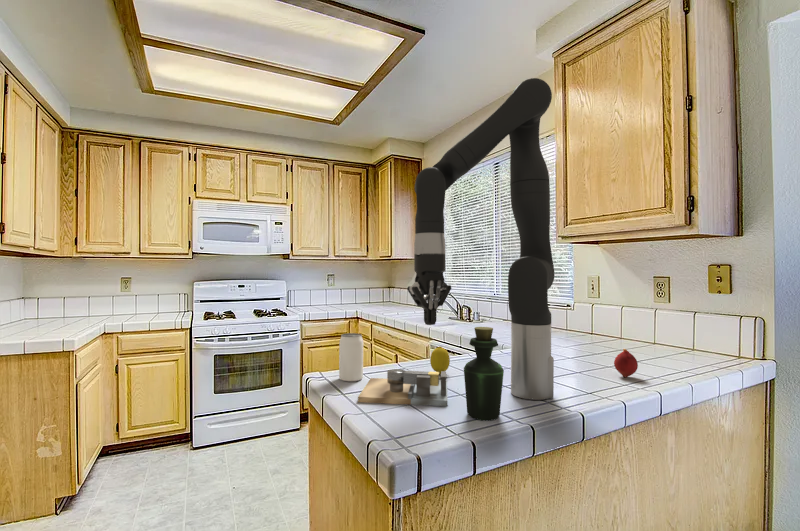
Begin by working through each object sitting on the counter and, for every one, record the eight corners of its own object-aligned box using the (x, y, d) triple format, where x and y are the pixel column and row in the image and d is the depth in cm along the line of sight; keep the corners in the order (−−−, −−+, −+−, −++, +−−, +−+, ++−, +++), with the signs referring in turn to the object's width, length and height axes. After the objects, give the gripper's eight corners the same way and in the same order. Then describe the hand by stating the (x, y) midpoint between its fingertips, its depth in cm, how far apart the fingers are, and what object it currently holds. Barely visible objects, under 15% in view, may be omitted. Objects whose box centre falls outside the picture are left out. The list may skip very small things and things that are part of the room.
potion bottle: (512, 417, 84) (512, 329, 84) (482, 425, 80) (483, 332, 80) (483, 406, 91) (484, 324, 91) (455, 413, 86) (455, 327, 86)
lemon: (428, 372, 120) (429, 344, 120) (447, 371, 121) (447, 344, 121) (431, 377, 115) (432, 348, 115) (451, 376, 115) (451, 348, 115)
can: (358, 382, 109) (359, 337, 109) (335, 381, 110) (336, 336, 110) (365, 376, 115) (366, 333, 115) (343, 375, 116) (344, 332, 116)
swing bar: (385, 384, 96) (385, 373, 96) (389, 379, 100) (389, 368, 100) (438, 387, 94) (438, 375, 94) (439, 381, 98) (439, 371, 98)
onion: (638, 376, 117) (638, 348, 117) (637, 381, 112) (637, 351, 112) (615, 373, 120) (615, 346, 120) (613, 377, 115) (613, 349, 115)
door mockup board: (447, 385, 107) (447, 364, 107) (447, 406, 91) (447, 381, 91) (370, 382, 109) (371, 361, 109) (358, 402, 93) (358, 377, 93)
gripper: (438, 253, 107) (438, 321, 106) (398, 252, 98) (399, 325, 98) (460, 252, 101) (460, 323, 101) (419, 251, 93) (420, 328, 92)
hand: (430, 324), depth 99 cm, fingers closed
